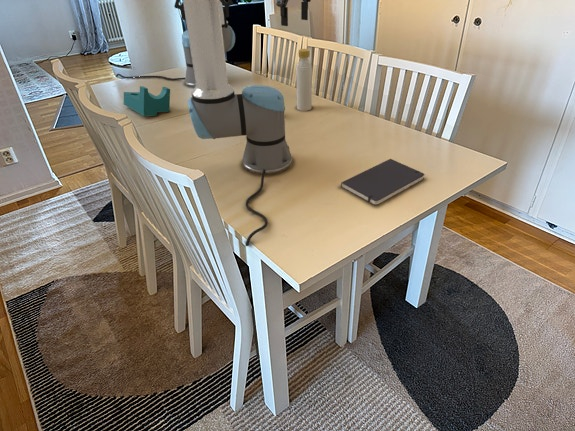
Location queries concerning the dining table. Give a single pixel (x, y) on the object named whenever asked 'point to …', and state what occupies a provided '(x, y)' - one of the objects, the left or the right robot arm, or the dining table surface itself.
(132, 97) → the teal notched cradle block
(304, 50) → the cap
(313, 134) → the dining table surface
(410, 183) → the notebook
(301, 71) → the bottle
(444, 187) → the dining table surface
